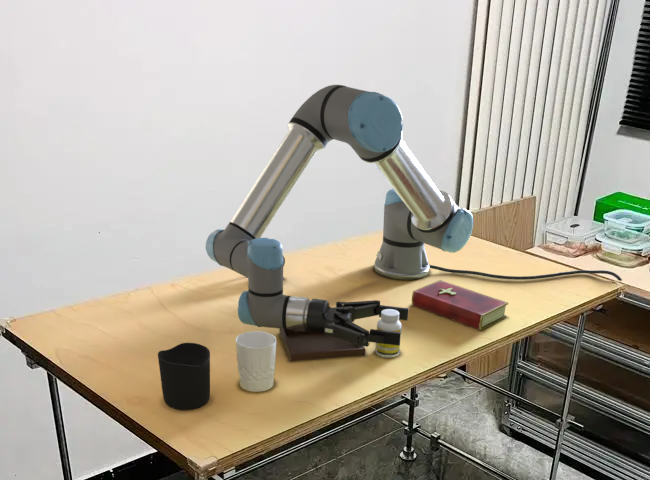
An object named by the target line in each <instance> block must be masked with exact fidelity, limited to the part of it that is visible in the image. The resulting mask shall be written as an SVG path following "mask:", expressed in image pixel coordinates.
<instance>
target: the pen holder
mask: <svg viewBox="0 0 650 480" xmlns="http://www.w3.org/2000/svg"><path fill="white" fill-rule="evenodd" d="M157 361H158V368H159V375H160V384H161V390H162V397H163V402H164V403H165V405H166V406H168V407H169V408H171V409H174V410H177V411H191V410H197V409H200V408H202V407H204V406H205V405H207V404H208V402H209V401H210V399H211V351H210V349H209V348H208V347H207V346H205V345H203V344H200V343H196V342H182V343H179V344H178V345H175V346H173V347H172V348H169V349H163V350H159V351H158V352H157Z"/></svg>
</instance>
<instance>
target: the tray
mask: <svg viewBox="0 0 650 480" xmlns="http://www.w3.org/2000/svg"><path fill="white" fill-rule="evenodd" d="M278 333H279V337H280V340H281V342H282V344H283V347H284V349H285V351H286V353H287V356H288V359H289V361H290V362H297V361H311V360H320V359H322V360H323V359H324V360H325V359H337V358H348V357H351V358H352V357H365V356H366V346H358V345H355V344H353V343H350V342H347V341H344V340H342V339H339V338H336V337H333V336H327V335H325V334H318V333H310V332H309V331H308V330H306V331H305V332H303V331H298V332H295V331H294V330H286V329H279V332H278ZM358 341H359V340H358Z"/></svg>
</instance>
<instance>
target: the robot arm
mask: <svg viewBox="0 0 650 480" xmlns="http://www.w3.org/2000/svg"><path fill="white" fill-rule="evenodd" d="M402 121H403V114H402V111H401V109H400V107H399V106H398V104H397V102H395V101H394V100H393V99H392V98H391V97H388V96H386V95H384V94H382V93H379V92H376V91H368V90H363V89H358V88H354V87H350V86H346V85H342V84H331V85H327V86H324V87H322V88H320V89H318V90H317V91H316V92H315V93H313V94H312V95H311V96H309V97H308V98H307V99H306V100H305V101H304V102H303V103H302V104H301V105H300V106H299V108H298V109H297V111H296V112H295V113H294V114H293V116H292V117H291V118H290V120H289V122H288V123H287V130H288V132H287V133H286V135H285V136H284V138H283V139H282V141H281V142H280V144H279V146H278V147H277V149H276V150H275V151H274V153H273V154H272V157H271V158H270V159H269V161H268V163H267V164H266V166H265V167H264V168H263V170H262V172H261V173H260V175H259V176H258V177H257V179H256V181H255V182H254V184H253V185H252V187H251V188H250V190H249V192H248V193H247V194H246V196H245V197H244V199H243V200H242V203H241V204H240V205H239V206H238V208H237V210H236V211H235V213H234V214H233V216H232V218H231V219H230V221H229V223H228V224H227V225H226V226H225V229H224V228H223V229H221V228H219V229H216V230H214V231H213V232H210V233H209V235H208V237H207V238H206V240H205V252H206V254H207V256H208V257H209V259H210V260H212V261H214V262H215V263H217V264H218V265H219V266H221V267H224V268H227V269H230V271H233V272H235V273H237V274H239V275H241V276H243V277H245V278H247V286H248V287H247V288H248V289H247V290H244V291H242V292H241V293H240V295H239V297H238V302H237V317H238V320H239V321H240V322H241V324H244V325H247V326H254V327H258V328H269V329H286V330H294V331H295V332H298V331H303V332H305V331H306V330H308V331H309V332H310V333H318V334H325V335H327V336H333V337H336V338H339V339H342V340H344V341H347V342H350V343H353V344H355V345H358V346H364V347H369V344H370V343H373V344H374V343H375V344H376V343H382V344H390V345H399V346H400V347H401V339H402V338H401V335H402V331H401V332H392V331H383V330H377V329H375V328H370V329H369V330H368V329H366V328H364V327H362V326H360V325H358V324H356V323H354V322H355V321H356V320H360V319H365V318H366V319H367V318H371V317H375V316H378V318H380V319H381V311H382V310H385V309H393V310H397V311H398V312H399V320H398V321H407V322H408V319H409V310H410V309H409V307H400V306H394V305H393V306H391V305H382V304H381V300H377V299H374V300H359V301H358V300H357V301H336V302H335V307H333V306H332V307H331V306H330V303H329V300H327V299H321V298H312V299H310V298H309V297H304V296H296V295H286V294H284V280H283V277H284V267H283V264H284V258H285V257H284V258H283V256H284V250H283V249H284V248H283V244H282V243H281V242H280V241H279V240H277V239H276V238H269V237H262V236H263V234H264V233H265V232H266V230H267V229H268V227H269V225H270V224H271V222H272V221H273V219H274V218H275V216H276V214H277V213H278V211H279V210H280V209H281V207H282V205H283V204H284V203H285V201H286V199H287V198H288V196H289V194H290V193H291V191H292V190H293V188H295V186H296V184H297V182H298V181H299V179H300V178H301V176H302V174H303V173H304V172H305V170H306V169H307V167H308V166H309V165H310V162H311V161H312V159H313V158H314V156H315V155H316V153H317V152H323V151H324V149H325V148H326V146H327V145H328V143H330V142H331V141H334V140H335V141H339V142H342V143H345V144H347V145H349V146H350V147H351V149H352V150H353V151H354V152H355V153H356V155H357V156H358V157H359V158H360V160H361V161H363V162H364V163H369V164H373V165H374V167H375V168H376V170H377V171H378V172H379V173H380V174H381V176H382V177H383V178H384V179H385V180H386V182H387V183H388V185H389V186H390V187H391V188H390V189H389V190H388V191H387V192H386V194H385V199H384V204H383V206H384V208H383V227H382V229H383V231H382V243H381V245H380V248H379V250H378V251H377V254H376V257H375V261H374V271H375V273H376V274H379V275H380V276H383V277H387V278H388V279H389V278H390V279H395V280H403V281H405V280H407V281H411V280H418V279H422V278H424V277H426V276H428V274H429V272H430V271H429V270H430V269H432V270H437V271H442V272H445V273H452V274H463V275H464V274H465V275H467V274H468V275H475V276H481V277H486V278H493V279H500V280H512V281H513V280H516V281H517V280H519V281H522V280H523V281H524V280H525V281H526V280H538V279H547V278H548V279H549V278H554V277H555V278H556V277H561V276H568V275H576V274H578V275H579V274H589V275H592V274H601V275H603V274H605V275H610V276H613V277H614V278H616V279H617V281H621V282H622V281H623V279H622V277H620V275H618V274H617V273H616V272H614V271H612V270H611V271H610V270H603V269H601V270H600V269H599V270H598V269H597V270H595V269H594V270H592V269H591V270H589V269H588V270H587V269H578V270H571V271H570V270H569V271H563V272H562V271H561V272H555V273H547V274H539V275H526V276H525V275H524V276H523V275H521V276H517V275H516V276H515V275H500V274H493V273H492V274H491V273H487V272H481V271H476V270H475V271H474V270H464V269H451V268H446V267H442V266H438V265H432V264H429V260H428V256H427V255H428V254H427V252H426V251H427V250H426V247H425V244H426V245H428V246H430V247H432V248H436V249H439V250H441V251H442V252H448V253H450V254H454V253H457V252H459V251H461V250H462V249H463V248H464V247H465V246H466V245H467V243H468V242H469V240H470V238H471V235H472V233H473V228H474V216H473V214H472V212H471V211H470V210H468V209H466V208H465V207H460V206H458V205H457V204H456V203H455V201H454V200H453V199H452V197H451V196H450V194H449V193H447V191H445V190H444V191H443V190H439V189H438V188H437V186H436V185H435V183H434V182H433V181H432V179H431V178H430V176H429V175H428V174H427V173H426V171H425V170H424V168H423V167H422V165H421V164H420V163H419V161H418V159H417V158H416V157H415V155H414V154H413V152H412V151H411V150H410V149H409V147H408V146H407V144H406V142H405V141H404V140H403V134H404V133H403V130H404V123H402ZM284 265H285V264H284ZM358 340H359V341H358Z"/></svg>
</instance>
